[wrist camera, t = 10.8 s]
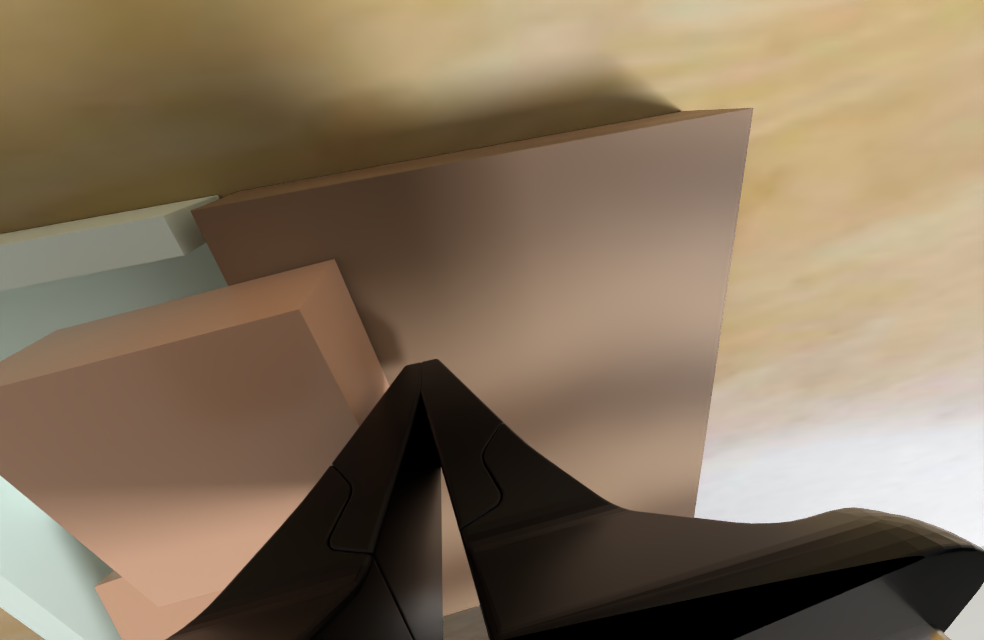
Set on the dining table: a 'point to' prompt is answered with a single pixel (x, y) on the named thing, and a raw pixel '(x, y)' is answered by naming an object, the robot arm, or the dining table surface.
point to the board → (535, 288)
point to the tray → (64, 303)
